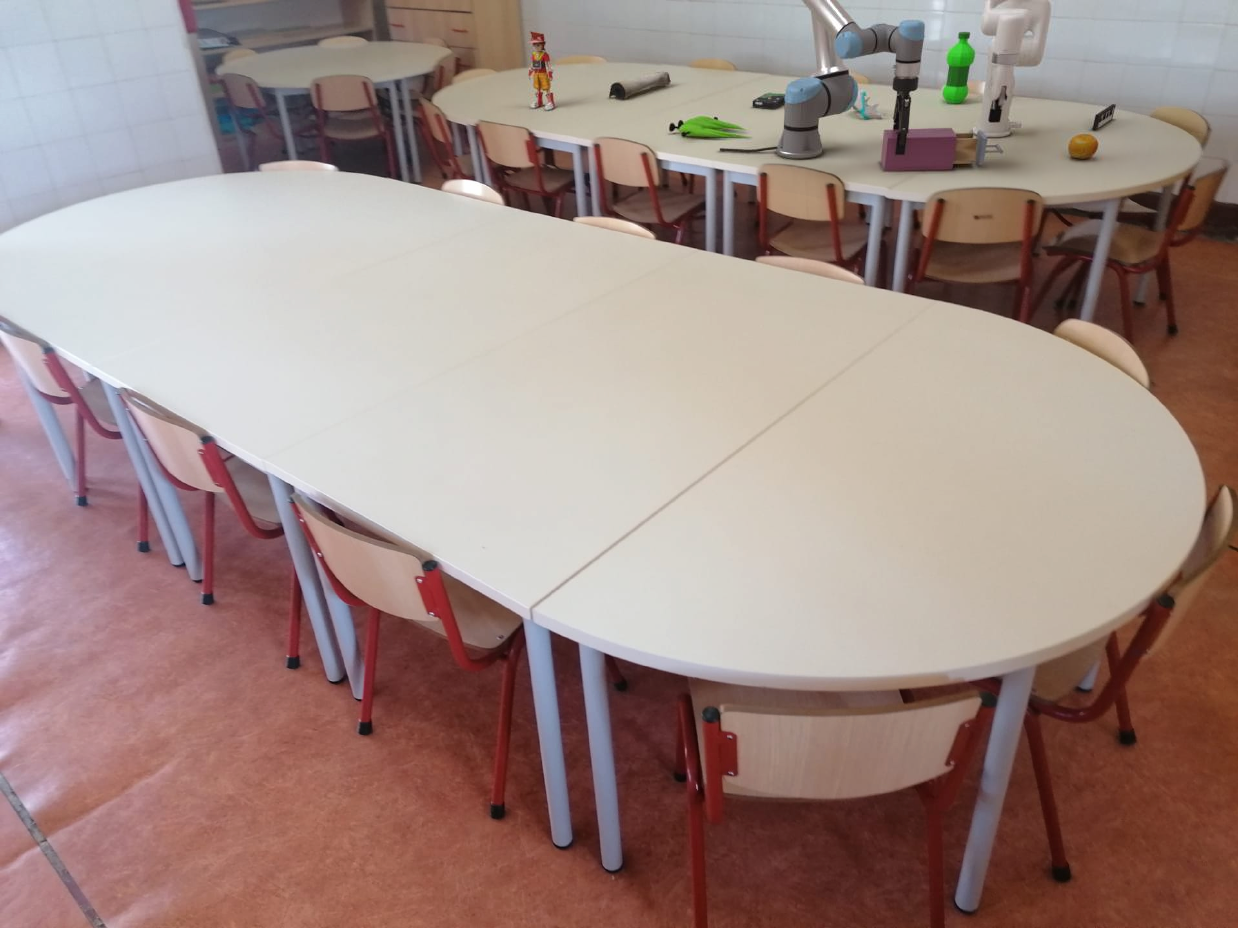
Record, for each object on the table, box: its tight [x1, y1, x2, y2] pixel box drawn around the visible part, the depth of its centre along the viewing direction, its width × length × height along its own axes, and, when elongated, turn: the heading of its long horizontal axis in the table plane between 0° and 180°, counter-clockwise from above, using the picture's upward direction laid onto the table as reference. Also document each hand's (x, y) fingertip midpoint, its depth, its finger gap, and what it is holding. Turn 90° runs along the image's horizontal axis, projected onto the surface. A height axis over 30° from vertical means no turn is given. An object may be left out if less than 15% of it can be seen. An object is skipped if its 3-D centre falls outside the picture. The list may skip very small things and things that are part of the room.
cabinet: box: [880, 127, 957, 172], centre depth 288 cm, size 21×10×10 cm, turn 83°
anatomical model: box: [852, 88, 884, 120], centre depth 343 cm, size 15×10×10 cm
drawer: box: [953, 131, 1004, 166], centre depth 287 cm, size 26×9×8 cm, turn 83°
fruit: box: [1067, 133, 1099, 160], centre depth 287 cm, size 8×8×8 cm
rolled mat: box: [608, 71, 672, 101], centre depth 395 cm, size 30×9×10 cm
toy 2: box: [668, 115, 748, 138], centre depth 334 cm, size 28×5×30 cm
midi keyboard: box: [1091, 103, 1117, 131], centre depth 317 cm, size 18×1×5 cm, turn 138°
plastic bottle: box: [942, 31, 976, 104], centre depth 348 cm, size 10×10×25 cm
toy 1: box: [527, 31, 556, 111], centre depth 374 cm, size 12×9×30 cm
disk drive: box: [752, 92, 786, 110], centre depth 366 cm, size 10×3×15 cm
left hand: (897, 149), depth 289 cm, fingers closed on cabinet, 10 cm apart
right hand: (993, 121), depth 281 cm, fingers closed
